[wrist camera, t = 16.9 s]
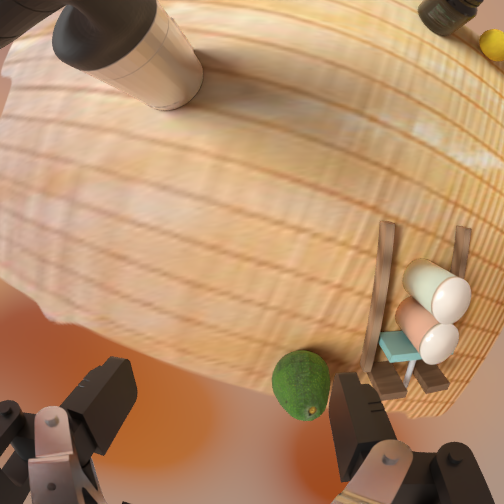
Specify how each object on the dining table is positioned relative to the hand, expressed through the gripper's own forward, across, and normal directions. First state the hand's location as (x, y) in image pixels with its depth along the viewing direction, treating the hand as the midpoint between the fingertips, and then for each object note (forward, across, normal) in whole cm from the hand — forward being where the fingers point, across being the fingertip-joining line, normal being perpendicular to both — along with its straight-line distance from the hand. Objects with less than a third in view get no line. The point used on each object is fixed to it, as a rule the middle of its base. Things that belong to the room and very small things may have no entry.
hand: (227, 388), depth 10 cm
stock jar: (+28, -23, +10) cm, 38 cm away
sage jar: (+28, -23, +5) cm, 37 cm away
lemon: (+28, -38, -34) cm, 58 cm away
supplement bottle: (+28, -28, -37) cm, 54 cm away
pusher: (+28, -23, +18) cm, 40 cm away
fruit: (+28, -6, +18) cm, 34 cm away
